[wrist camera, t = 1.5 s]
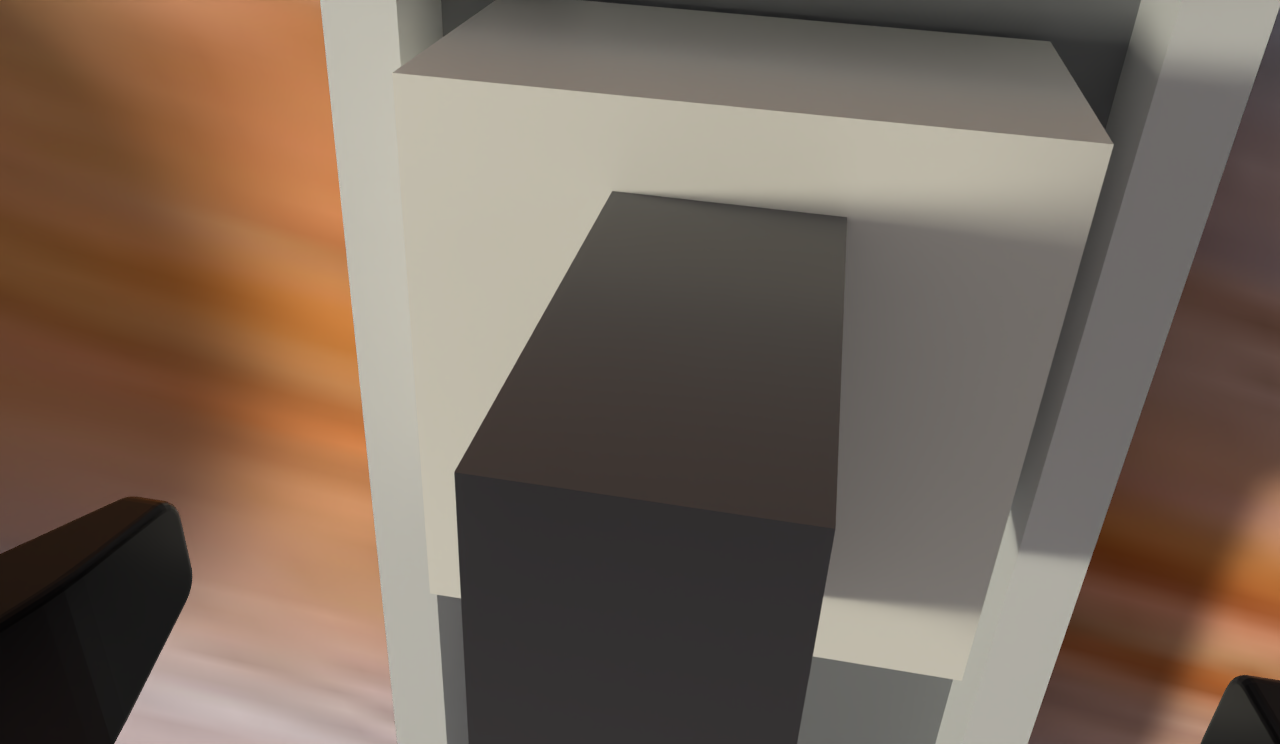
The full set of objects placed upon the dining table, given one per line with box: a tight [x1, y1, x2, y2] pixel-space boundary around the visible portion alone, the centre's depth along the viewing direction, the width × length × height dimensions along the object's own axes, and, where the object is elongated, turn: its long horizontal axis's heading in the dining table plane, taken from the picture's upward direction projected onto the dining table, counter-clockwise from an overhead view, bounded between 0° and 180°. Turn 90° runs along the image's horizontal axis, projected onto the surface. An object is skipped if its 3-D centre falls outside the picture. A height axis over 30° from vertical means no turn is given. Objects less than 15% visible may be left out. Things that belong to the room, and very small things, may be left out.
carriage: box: [392, 0, 1114, 744], centre depth 12 cm, size 7×7×9 cm
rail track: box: [320, 0, 1280, 744], centre depth 18 cm, size 12×20×3 cm, turn 178°
